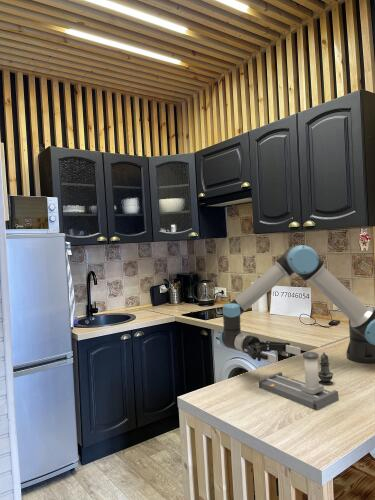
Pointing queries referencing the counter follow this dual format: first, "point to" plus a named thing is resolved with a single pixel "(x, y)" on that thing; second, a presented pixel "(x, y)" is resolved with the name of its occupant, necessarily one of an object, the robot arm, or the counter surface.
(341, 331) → the counter surface
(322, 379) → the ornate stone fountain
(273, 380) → the console
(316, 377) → the fader
